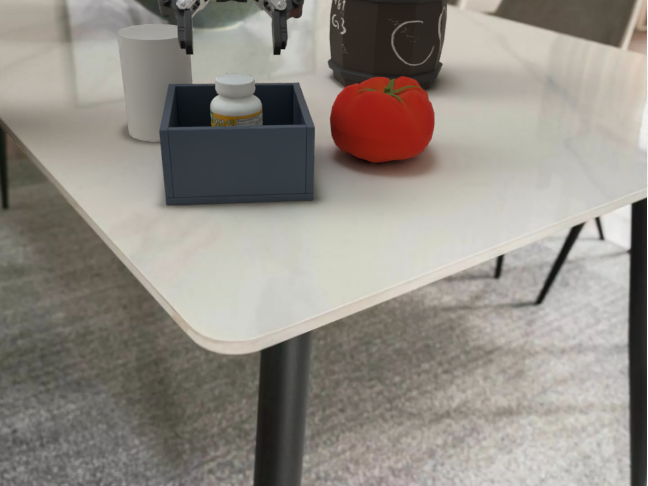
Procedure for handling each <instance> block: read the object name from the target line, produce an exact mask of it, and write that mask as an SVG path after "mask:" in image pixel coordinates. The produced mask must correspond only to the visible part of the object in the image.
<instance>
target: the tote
mask: <svg viewBox="0 0 648 486" xmlns="http://www.w3.org/2000/svg"><path fill="white" fill-rule="evenodd" d="M218 95H219V94H218V93H217V91H216V90H215V83H193V84H169V85H168V90H167V95H166V100H165V104H164V109H163V114H162V119H161V124H160V129H159V135H160V142H159V143H160V145H159V146H160V155H161V166H162V175H163V185H164V187H163V188H164V197H165V204H166V206H178V205H179V206H180V205H211V204H235V203H236V204H238V203H268V202H294V201H295V202H296V201H297V202H298V201H313V200H314V188H315V187H314V185H315V183H314V182H315V150H316V149H315V147H316V146H315V143H316V142H315V141H316V126H315V124H314V121H313V118H312V115H311V112H310V110H309V106H308V104H307V101H306V98H305V96H304V93H303V90H302V87H301V84H300V82H255V92H254V93H253V95H254V96H256V97H257V98H259V100H260V101H261V103H262V121H263V126H211V111H210V105H211V102H212V100H213V99H214V98H215V97H216V96H218Z"/></svg>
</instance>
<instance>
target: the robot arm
mask: <svg viewBox="0 0 648 486" xmlns="http://www.w3.org/2000/svg"><path fill="white" fill-rule="evenodd" d="M210 1H211V0H157V3H158V9H159V13H160V15H161V16H162V17H163V18H169V17H173V18H174V19H176V26H177V35H178V43H179V46H180V48H181V49H186V55H191V56H193V55H194V23H193V22H194V21H193V18H194V17H195V16H196V14H197V13H198V12H199V11H202V10H203V9H204V8H205V7H206V6H208V3H210ZM231 1H232V2H236V3H248V0H215V2H216V3H226V2H231ZM251 1H252V2H253V3H254V5H256V6H257V7H258V8H259V10H260V11H264V12H265V13H266V14H267V15H268V16H269V18H271V39H272V41H271V42H272V55H273V56H281V54H282V50H286V49H287V45H288V39H289V33H288V20H289V19H292V18H293V19H300V18H301V17H303V8H304V4H305V0H251Z"/></svg>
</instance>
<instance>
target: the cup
mask: <svg viewBox="0 0 648 486" xmlns="http://www.w3.org/2000/svg"><path fill="white" fill-rule="evenodd" d="M116 37H117V45H118V54H119V63H120V70H121V78H122V79H121V80H122V86H123V95H124V105H125V113H126V122H127V128H128V134H129V135H130V137H132V139H133V138H134V139H136V140H139V141H143V142H150V143H160V135H159V129H160V124H161V119H162V114H163V109H164V104H165V100H166V95H167V90H168V85H169V84H194V83H193V71H192V55H186V49H181V48H180V46H179V43H178V35H177V24H175V25H174V24H168V23H167V24H166V23H145V24H135V25H129V26H125V27H122V28H120V29H118V30H117V31H116Z"/></svg>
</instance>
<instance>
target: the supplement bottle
mask: <svg viewBox="0 0 648 486" xmlns="http://www.w3.org/2000/svg"><path fill="white" fill-rule="evenodd" d="M214 82H215V83H214V84H215V90H216V91H217V93H218V94H219V95H218V96H216V97H215V98H214V99H213V100H212V102H211V105H210V111H211V126H263V121H262V103H261V101H260V100H259V98H257V97H256V96H254V95H253V93H254V92H255V83H256V79H255V77H254V76H252V75H250V74H246V73H237V72H236V73H235V72H233V73H223V74H220V75H218V76H216V77H215V81H214Z"/></svg>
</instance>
